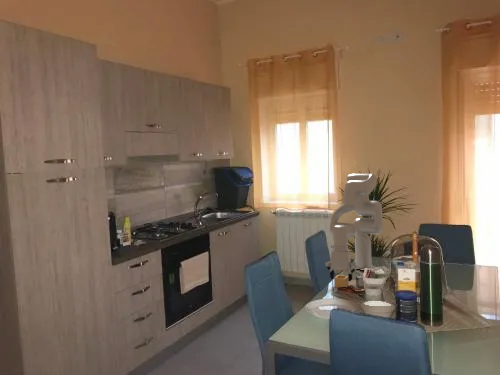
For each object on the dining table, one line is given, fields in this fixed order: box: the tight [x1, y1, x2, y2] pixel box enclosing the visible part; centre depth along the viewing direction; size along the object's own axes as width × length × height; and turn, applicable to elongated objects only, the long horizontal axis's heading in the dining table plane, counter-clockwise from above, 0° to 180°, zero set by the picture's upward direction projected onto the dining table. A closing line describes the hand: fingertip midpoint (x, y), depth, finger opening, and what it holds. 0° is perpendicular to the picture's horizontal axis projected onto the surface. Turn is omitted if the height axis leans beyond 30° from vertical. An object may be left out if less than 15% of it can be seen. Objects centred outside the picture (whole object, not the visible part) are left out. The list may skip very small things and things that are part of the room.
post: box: [355, 275, 365, 287], centre depth 210 cm, size 3×3×5 cm
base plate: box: [348, 283, 364, 290], centre depth 210 cm, size 8×8×2 cm
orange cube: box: [333, 274, 350, 288], centre depth 216 cm, size 6×6×5 cm
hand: (341, 279), depth 216 cm, fingers open, 9 cm apart
